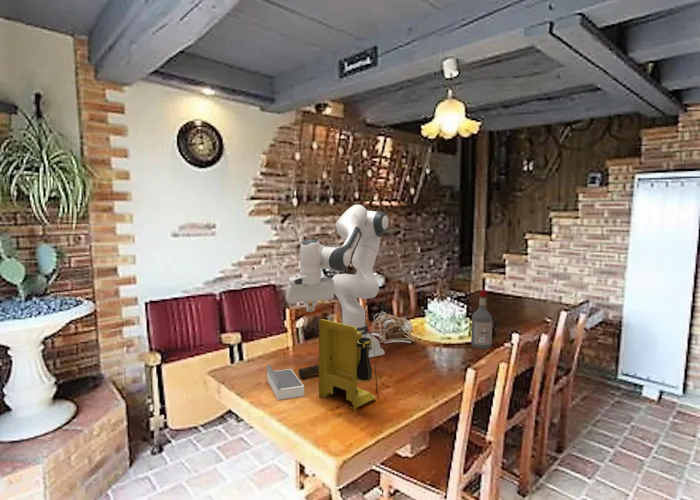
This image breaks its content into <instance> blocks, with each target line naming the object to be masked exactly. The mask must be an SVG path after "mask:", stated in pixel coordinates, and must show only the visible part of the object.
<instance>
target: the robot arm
mask: <svg viewBox="0 0 700 500" xmlns="http://www.w3.org/2000/svg"><path fill="white" fill-rule="evenodd" d="M389 224H390V220H389V216H388V214H387V213H385V212H383V211H380V210H379V211H377V210H376V211H375V210H367V208H365V206H363V205H362V204H354V205H351V206H350V207H349V208H348V209H347V210H345V212H343V213H342V215H340V217H339V218H338V219H337V222H336V223H335V225H336V226H335V228H336V232H337V233H338V235H339V236H340V237H341V238H342V239H344V243H343V245H341V246H337V247H336V246H335V247H333V246H325V245H323V244H321V242H320V240H319V239H316V238H315V239H314V238H312V239H305V240H303V241H302V242H301V244H300V248H299V264H300V268H299V273H298V274H296V275H294V276H291V277H289V278H288V283H289V284H287V286H286V292H285V300H286V302H288V303H300V302H302V303H303V304H304V306H305V307H306V309H305V310H306V312H307V313H308V312H309V313H310V312H315V307H316V306H317V304H318V301H326V300H327V301H328V300H331V301H332V300H334V298H335V296H336V298H337V299H338V301H339V303H340V306H341V312H342V313H341V314H342V318H341V319H342V324H346V325H350V326H354V327H356V328H357V331H358V332H362V337H365V336H366V337H365V338H370V339H371V342H372V345H371V346H369V359H370V358H376V357H378V356H383V355H385V354H386V353H385V352H386V351H385V350H384V349H383V348H382V347H381V343H380V340H378V339H377V337H375V335H372V336H371V334H369V333H370V332H372V330H373V329H372V326H369V325H367V324H366V309H365V308H364V306H363V305H362V304H360V302H359V301H358V299H360V300H361V299H363V300H367V299H374V298H376V296H377V295H378V294H379V290H380V285H379V282H378V280H377V279H376V278H375V276H374V266H375V261H376V259H377V256H378V253H379V251H380V250H379V249H380V244H381V237H382V236H383V235H384V233H386V231H387V229H388V228H389ZM350 264H352V266H353V268H355V269H356V272H355V274H351V273H340V274H339V273H338V274H335V275H333V277H322V270H331V271H332V270H333V271H336V272H343V271H345V270H347V269H348V268H349V266H350ZM309 302H312V304H311V306H309V305H308V304H309ZM367 332H368V333H367ZM366 333H367V335H366ZM372 337H373V339H372ZM373 341H374V343H373ZM374 349H375V355H374Z"/></svg>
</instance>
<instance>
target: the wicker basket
mask: <svg viewBox="0 0 700 500" xmlns="http://www.w3.org/2000/svg"><path fill="white" fill-rule="evenodd" d="M377 315H378V316H377ZM376 316H377V317H376ZM375 317H376V318H375ZM373 319H374V320H373V322H372V325H371V327H372V331H371V333H370V332H369V333H370V334H372V335H373V336H374V337H375V336H376V337H379V343H380V344H382V343H383V344H389V343H408V344H411V343H412V341H413V342H415V339H414V338H413V336H412V332H411V330H412V329H413V326H412V323H411V321H410V320H409V319H407V318H405V317H397V316H395V315H394V314H389V313H388V314H387V313H386V312H384V311H383V310H381V311H380V313H376V314H375V315H374V317H373ZM395 319H396V320H397V321H396V320H395ZM382 322H383V323H382ZM377 323H378V325H377ZM381 323H382V324H381ZM382 326H383V328H382ZM375 327H377V328H378V329H375ZM412 331H413V330H412ZM407 332H408V333H407ZM386 336H388V337H386ZM409 336H410V337H409ZM387 338H389V339H387Z"/></svg>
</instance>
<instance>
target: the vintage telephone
mask: <svg viewBox="0 0 700 500" xmlns="http://www.w3.org/2000/svg"><path fill="white" fill-rule="evenodd" d="M368 332H369V331H368ZM368 332H367V333H368ZM367 333H366V335H367ZM369 334H370V332H369ZM371 336H372V334H371ZM365 337H366V336H365ZM365 337H362V332H358V331H357V328H356V327H354V326H350V325H346V324H343V323H341V322H336V321H332V320H328V319H323V318H321V319H319V321H318V365H319V373H318V398H326V397H328V396H329V397H330V396H331V395H335V394H336V393H338V392H342V393H343V394H344V396H346V397H345V398H346V399H345V400H347V401H349V402H350V403H351V404H352V406H350V408H351V409H354V412H357V409H358V408H359V407H361V406H363V405H365V404H367V403H369V402H372V401H375V402H376V403H378V401H379V405H382V404H381V399H380V396H379V393H378V382H377V381H378V380H377V377H375V390H376V391H375V392H376V396H375V395H374V394H373V393H372V392H370V391H367V390H364V389H361V388H359V387H357V385H358V384H357V383H359V382H363V383H364V382H367V383H368V382H369V381H371V380H372V379H373V378H372V377H373V374H372V373H373V372H372V371H373V369H372V365H371V360H370V358H369V346H371V345H372V342H371V339H370V338H365ZM372 339H373V337H372ZM373 343H374V341H373ZM374 355H375V349H374ZM376 366H377V365H376V362H374V370H375V371H374V372H375V376H377V367H376ZM376 398H377V399H378V401H377V400H376Z"/></svg>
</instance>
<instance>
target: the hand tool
mask: <svg viewBox="0 0 700 500" xmlns="http://www.w3.org/2000/svg"><path fill="white" fill-rule="evenodd" d="M317 374H319V364H317V365H313V366H309V367H308V366H307V367H304V368H298V376H299V378H301V379H304V378H307V377H309V376H312V375H317Z"/></svg>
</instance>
